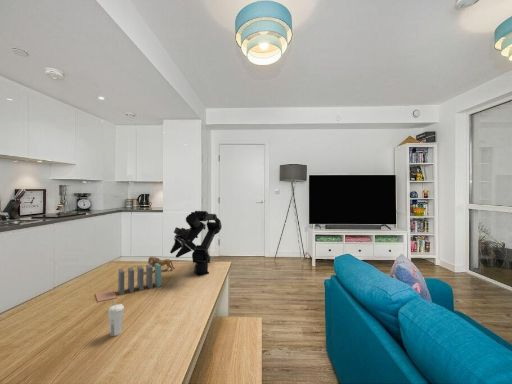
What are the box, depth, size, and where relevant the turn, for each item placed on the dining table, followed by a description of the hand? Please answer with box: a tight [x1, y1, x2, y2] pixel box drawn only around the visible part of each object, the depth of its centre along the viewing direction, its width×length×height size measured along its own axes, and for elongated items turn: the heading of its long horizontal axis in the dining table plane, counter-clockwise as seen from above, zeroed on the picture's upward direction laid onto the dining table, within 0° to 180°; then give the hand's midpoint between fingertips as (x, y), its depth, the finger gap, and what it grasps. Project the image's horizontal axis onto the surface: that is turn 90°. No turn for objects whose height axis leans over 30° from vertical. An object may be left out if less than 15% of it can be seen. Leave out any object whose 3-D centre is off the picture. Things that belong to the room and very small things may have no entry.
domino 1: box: [117, 268, 125, 296], centre depth 113 cm, size 2×5×10 cm, turn 37°
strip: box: [95, 289, 117, 303], centre depth 109 cm, size 7×10×1 cm
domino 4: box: [145, 264, 154, 290], centre depth 120 cm, size 2×5×10 cm, turn 37°
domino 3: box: [136, 265, 145, 292], centre depth 118 cm, size 2×5×10 cm, turn 37°
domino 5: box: [154, 263, 162, 288], centre depth 122 cm, size 2×5×10 cm, turn 37°
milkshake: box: [107, 299, 125, 337], centre depth 81 cm, size 4×5×10 cm
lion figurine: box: [147, 255, 176, 272], centre depth 143 cm, size 15×5×9 cm, turn 118°
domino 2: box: [127, 267, 135, 294], centre depth 115 cm, size 2×5×10 cm, turn 37°
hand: (173, 254), depth 127 cm, fingers open, 9 cm apart
